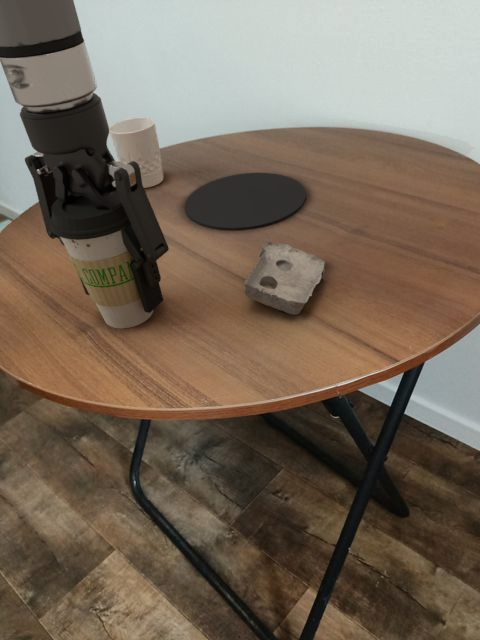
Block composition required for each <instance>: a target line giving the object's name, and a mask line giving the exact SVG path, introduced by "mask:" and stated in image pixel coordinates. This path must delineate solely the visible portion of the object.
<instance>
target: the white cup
mask: <svg viewBox="0 0 480 640" xmlns="http://www.w3.org/2000/svg"><path fill="white" fill-rule="evenodd" d="M109 134H110V138H111V141H112V145H113V147H114V150H115V153H116V156H117V159H118V162H119V163H122V164H128V163H130V162H132V161H135V162H136V163H137V164H138V165H139V167H140V172H141V179H142V185H143V187H144V189H147V188H153V187H155V186H156V185H159V184H160V183H162V182H163V181H164V178H165V177H164V170H163V165H162V162H163V161H162V156H161V155H162V154H161V149H160V143H159V138H158V133H157V125H156V121H155V119H154V118H151V117H132V118H131V117H130V118H126V119H122V120H119V121H116V122H115V123H113V124H111V125H110V126H109Z"/></svg>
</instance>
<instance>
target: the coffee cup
mask: <svg viewBox="0 0 480 640" xmlns="http://www.w3.org/2000/svg"><path fill="white" fill-rule="evenodd" d="M110 193H111V190H110V189H109V190H108V192H106V193H105V194H103V195H102V196H101V197H103V198H104V197H106V196H107V195H109V194H110ZM130 225H131V223H130V221H129V218H128V216H127V214H126V212H125V210H124V207H123V205H122V203H120V204H119V205H117V206H116V207H114V208H113V209H111V210H107V209H104V210H99V209H96V208H95V206H94V205H93V203H92V202H91V200H90V199H88V198H86V197H84V196H83V197H81V198H79V199H77V200H76V201H74V202H72V203H70V204H65V202H63V201H61V200H59V198H58V199H57V200H56V201H55V202H54V203H53V205H52V217H51V229H52V231H53V233H55V234H56V235H57V236H60V238H61V240H62V241H63V243H64V245H65V246H64V245H63V246H64V247H65V252H66V254H67V256H68V257H69V259H70V261H71V263H72V265H73V267H74V268H75V271H76V272H77V275H78V274H79V275H78V277H79V276H80V277H79V279H80V278H81V280H82V281H83V283H84V285H85V287H86V289H87V291H88V293H89V294H90V295H89V296H90V298H91V300H92V302H93V303H95V305H96V307H97V309H98V311H99V313H100V314H101V316H102V318H103V320H104V322H105V324H106V325H107V326H109V327H110V328H115V329H129V328H134V327H137V326H140V325H141V324H144V323H145V322H146V321H148V320H149V319H150V318H151V316H152V315H153V314H154V311H155V309H154V310H153V311H151V312H150V313H147V312H145V311H144V308H143V305H142V301H141V298H140V295H139V292H138V288H137V285H136V282H135V279H134V275H133V272H132V269H131V266H130V263H132V262H133V261H134V258H133V257H132V255H131V254H130V252H129V251H128V249H127V248H126V246H125V245H124V243H123V238H122V234H121V230H122V229H124V228H126V227H128V226H130ZM141 250H143V249H142V247H141ZM81 280H80V281H81Z"/></svg>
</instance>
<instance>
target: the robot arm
mask: <svg viewBox="0 0 480 640" xmlns="http://www.w3.org/2000/svg"><path fill="white" fill-rule="evenodd" d="M0 64H1V67H2V70H3V72H4V76H5V78H6V80H7V84H8V86H9V89H10V91H11V95H12V97H13V99H14V102H15V103H16V104H17V105H20V106H22V107H21V109H20V112H19V118H20V120H21V122H22V125H23V128H24V130H25V132H26V135H27V137H28V140H29V143H30V145H31V147H32V149H33V150H34V151H36V152H34V153H31V154H30V155H27V156H26V157H24V162H25V165H26V167H27V169H28V171H29V172H30V175H31V177H32V179H33V184H34V187H35V192H36V195H37V200H38V203H39V206H40V207H39V208H40V211H41V214H42V219H43V223H44V227H45V230H46V234H47V235H48V237H49V238H50V239H51V240H54V239H58V240H59V242H60V244H61V245H62V246H64V247H65V245H64V243H63V241H62V240H61V238H60V236H57V235H56V234H55V233H53V231H52V229H51V217H52V205H53V203H54V202H55V201H56V200H57V199H58V198H59V200H61V201H63V202H65V204H70V203H72V202H74V201H76V200H77V199H79V198H81V197H83V196H84V197H86V198H88V199H90V200H91V202H92V203H93V205H94V206H95V208H96V209H99V210H104V209H107V210H111V209H113V208H114V207H116V206H117V205H119V204H120V203H122V205H123V207H124V210H125V212H126V214H127V216H128V218H129V221H130V223H131V225H130V226H128V227H126V228H124V229H122V230H121V234H122V238H123V243H124V245H125V246H126V248H127V249H128V251H129V252H130V254H131V255H132V257H133V258H134V261H133V262H132V263H130V266H131V269H132V272H133V275H134V279H135V282H136V285H137V288H138V292H139V295H140V298H141V301H142V305H143V308H144V311H145V312H147V313H150V312H151V311H153V310H154V311H155V309H156V308H157V307H158V306H159V305H160V304H161V303H163V301H164V296H163V292H162V288H161V286H160V285H161V284H160V282H161V281H162V280H161V279H162V277H161V273H160V269H159V265H158V262H157V261H158V260H159V259H160V258H161V257H163V256H164V255H165V254H166V253H167V252H169V251H170V248H169V245H168V242H167V239H166V238H165V237H166V236H165V235H164V233H163V230H162V228H161V225H160V223H159V220H158V219H157V216H156V213H155V211H154V209H153V207H152V204H151V202H150V199H149V197H148V195H147V192H146V190H145V188H144V187H143V185H142V179H141V172H140V167H139V165H138V164H137V163H136V162H135V161H132V162H130V163H128V164H122V163H120V162H119V161H116V159H115V158H114V156H113V154H112V153H111V151H110V150H109V148H108V138H109V134H110V132H109V127H110V126H109V123H108V119H107V116H106V112H105V108H104V105H103V101H102V98H101V97H100V96H99V95H98V94H97V93H95V91H96V90H97V88H98V82H97V79H96V75H95V71H94V69H93V66H92V62H91V59H90V55H89V52H88V48H87V45H86V42H85V39H84V37H83V33H82V28H81V24H80V20H79V16H78V12H77V8H76V5H75V2H74V0H0ZM109 189H110V190H111V193H110V194H109V195H107V196H106V197H104V198H103V197H101V196H102V195H103V194H105V193H106V192H108V190H109ZM141 247H142V249H143V250H141ZM77 275H78V277H79V280H80V282H81V285H82V288H83V291H84V294H85V295H87V296H90V294H89V293H88V291H87V289H86V287H85V285H84V283H83V281H82V280H81V278H80V276H79V274H78V273H77ZM154 311H153V312H154Z"/></svg>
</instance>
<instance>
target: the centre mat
mask: <svg viewBox="0 0 480 640" xmlns="http://www.w3.org/2000/svg"><path fill="white" fill-rule="evenodd" d="M306 200H307V191H306V188H305V187H304V185H303V184H301V183H300V182H299V181H298V180H297V179H294V178H292V177H289V176H286V175H283V174H279V173H278V174H277V173H270V172H249V173H248V172H247V173H238V174H233V175H228V176H224V177H220V178H217V179H214V180H212V181H209V182H207V183H205V184H203V185H201V186H199V187H198V188H196V189H195V190H194V191H193V192H191V194H190V195H189V196H187V199H186V201H185V203H184V211H185V214H186V216H187V217H188V219H190V220H191V221H192V222H194V223H196V224H198V225H200V226H202V227H205V228H209V229H214V230H223V231H242V230H251V229H258V228H263V227H267V226H271V225H273V224H276V223H277V224H278V222H282V221H284V220H286V219H287V218H290V217H291V216H293V215H294V214H296V213H297V212H298V211H299V210H301V209H302V207H303V206H304V204H305V203H306Z"/></svg>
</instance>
